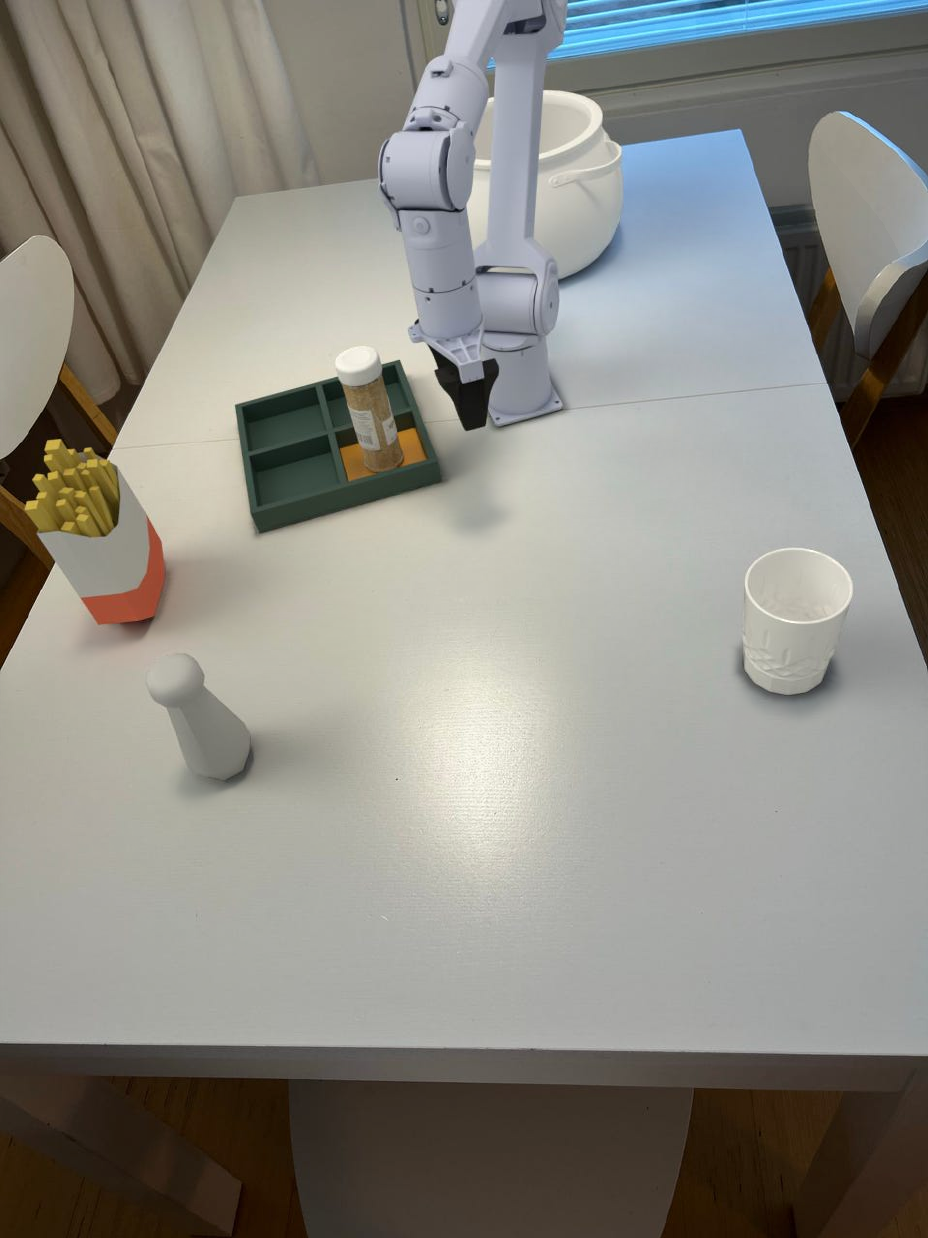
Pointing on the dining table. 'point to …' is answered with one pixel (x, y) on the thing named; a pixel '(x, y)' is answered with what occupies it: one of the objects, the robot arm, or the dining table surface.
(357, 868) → the dining table surface
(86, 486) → the french fries container
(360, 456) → the tray
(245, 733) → the salt shaker
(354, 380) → the sprinkles bottle
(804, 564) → the white cup
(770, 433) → the dining table surface
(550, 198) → the pot
